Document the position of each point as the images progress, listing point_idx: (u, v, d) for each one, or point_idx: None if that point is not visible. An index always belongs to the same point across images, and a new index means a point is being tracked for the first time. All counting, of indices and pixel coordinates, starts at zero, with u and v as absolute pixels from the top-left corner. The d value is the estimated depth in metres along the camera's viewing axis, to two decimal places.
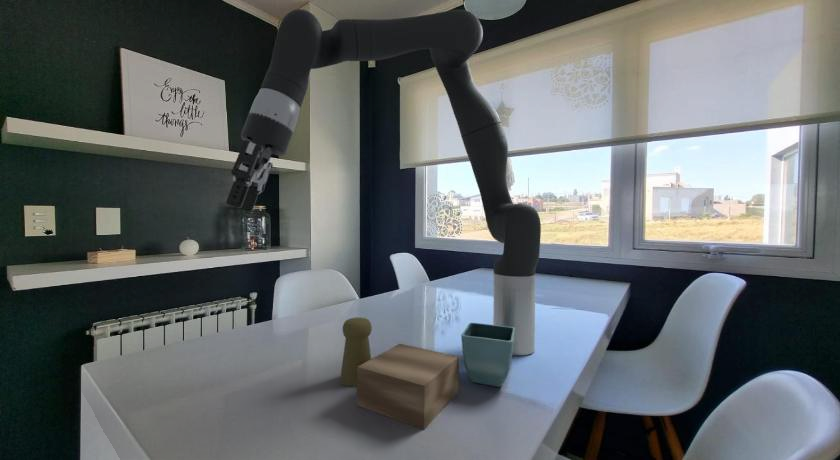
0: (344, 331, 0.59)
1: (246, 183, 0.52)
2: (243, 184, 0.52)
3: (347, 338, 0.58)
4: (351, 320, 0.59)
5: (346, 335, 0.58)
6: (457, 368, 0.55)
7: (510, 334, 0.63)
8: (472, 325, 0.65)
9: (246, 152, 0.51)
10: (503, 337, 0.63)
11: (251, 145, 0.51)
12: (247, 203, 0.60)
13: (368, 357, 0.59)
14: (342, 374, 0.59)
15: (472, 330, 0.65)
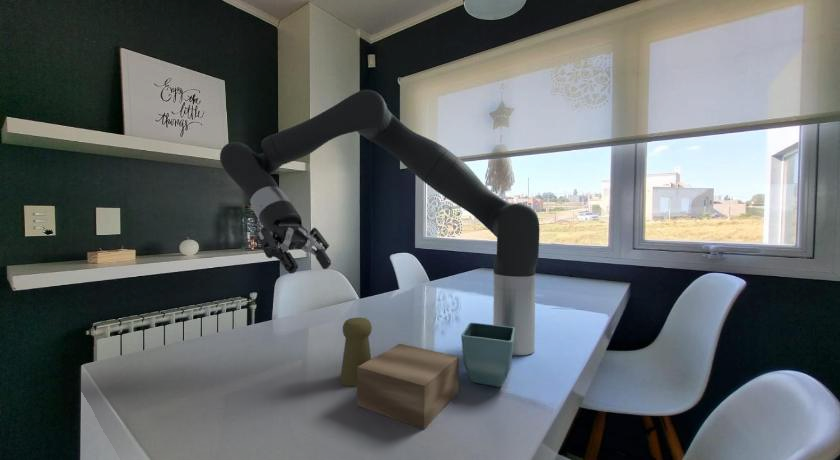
0: (344, 331, 0.59)
1: (282, 252, 0.62)
2: (281, 254, 0.62)
3: (347, 338, 0.58)
4: (351, 320, 0.59)
5: (346, 335, 0.58)
6: (457, 368, 0.55)
7: (510, 334, 0.63)
8: (472, 325, 0.65)
9: (262, 239, 0.63)
10: (503, 337, 0.63)
11: (259, 233, 0.63)
12: (323, 261, 0.70)
13: (368, 357, 0.59)
14: (342, 374, 0.59)
15: (472, 330, 0.65)
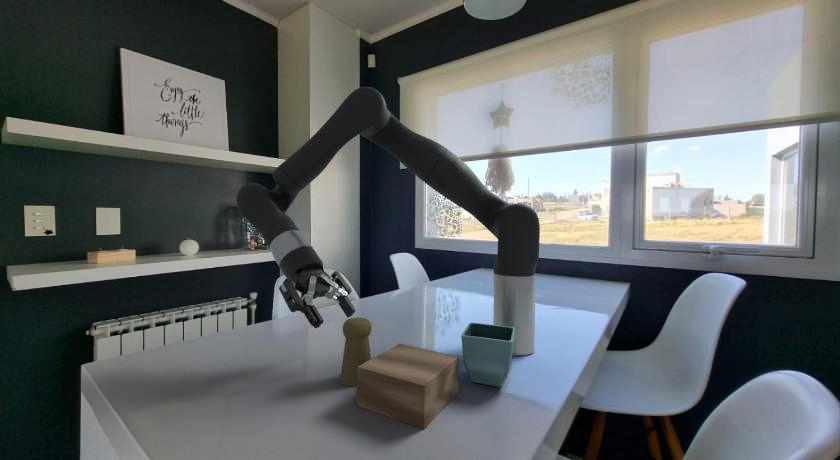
0: (344, 331, 0.59)
1: (306, 305, 0.59)
2: (306, 308, 0.59)
3: (347, 338, 0.58)
4: (351, 320, 0.59)
5: (346, 335, 0.58)
6: (457, 368, 0.55)
7: (510, 334, 0.63)
8: (472, 325, 0.65)
9: (285, 292, 0.60)
10: (503, 337, 0.63)
11: (282, 285, 0.60)
12: (347, 309, 0.67)
13: (368, 357, 0.59)
14: (342, 374, 0.59)
15: (472, 330, 0.65)
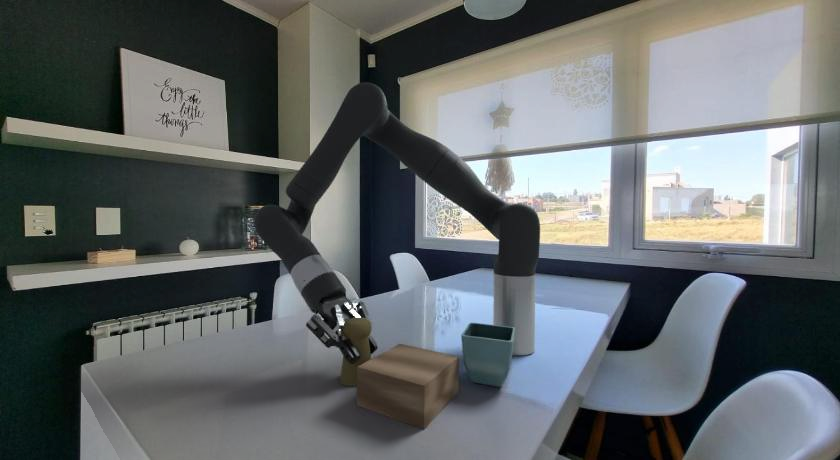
0: (344, 331, 0.59)
1: (342, 340, 0.57)
2: (341, 343, 0.57)
3: (347, 338, 0.58)
4: (351, 320, 0.59)
5: (346, 335, 0.58)
6: (457, 368, 0.55)
7: (510, 334, 0.63)
8: (472, 325, 0.65)
9: (315, 329, 0.57)
10: (503, 337, 0.63)
11: (310, 323, 0.57)
12: None
13: (368, 357, 0.59)
14: (342, 374, 0.59)
15: (472, 330, 0.65)
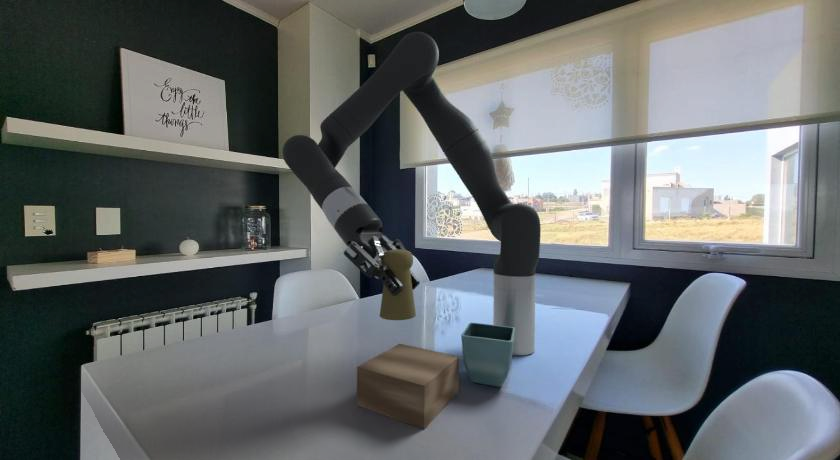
0: (384, 261, 0.53)
1: (383, 270, 0.52)
2: (383, 273, 0.52)
3: (388, 269, 0.53)
4: (391, 250, 0.54)
5: (387, 265, 0.53)
6: (457, 368, 0.55)
7: (510, 334, 0.63)
8: (472, 325, 0.65)
9: (354, 257, 0.52)
10: (503, 337, 0.63)
11: (349, 250, 0.52)
12: None
13: (410, 290, 0.54)
14: (383, 308, 0.53)
15: (472, 330, 0.65)
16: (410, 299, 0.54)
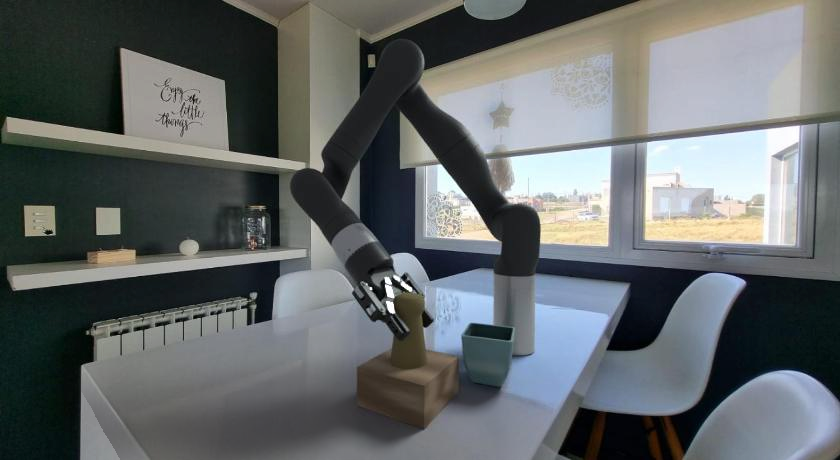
0: (395, 307, 0.52)
1: (389, 313, 0.49)
2: (389, 317, 0.49)
3: (399, 315, 0.52)
4: (403, 295, 0.53)
5: (398, 311, 0.51)
6: (457, 368, 0.55)
7: (510, 334, 0.63)
8: (472, 325, 0.65)
9: (361, 298, 0.50)
10: (503, 337, 0.63)
11: (357, 290, 0.50)
12: (423, 318, 0.56)
13: (422, 336, 0.52)
14: (393, 355, 0.52)
15: (472, 330, 0.65)
16: (422, 346, 0.52)
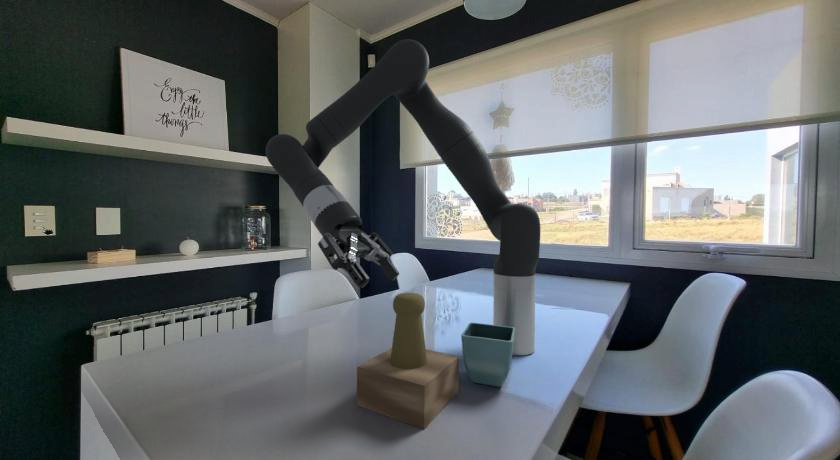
0: (395, 307, 0.52)
1: (350, 262, 0.53)
2: (349, 265, 0.52)
3: (399, 315, 0.52)
4: (403, 295, 0.53)
5: (398, 311, 0.51)
6: (457, 368, 0.55)
7: (510, 334, 0.63)
8: (472, 325, 0.65)
9: (325, 247, 0.53)
10: (503, 337, 0.63)
11: (322, 240, 0.54)
12: (389, 272, 0.60)
13: (422, 336, 0.52)
14: (393, 355, 0.52)
15: (472, 330, 0.65)
16: (422, 346, 0.52)
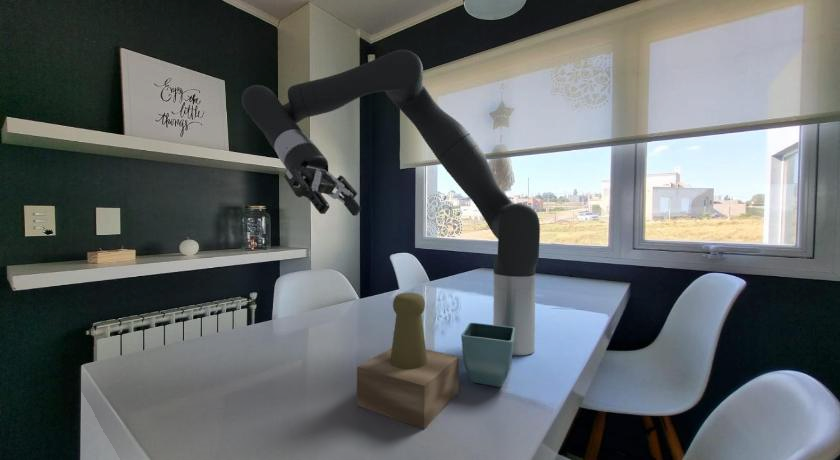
0: (395, 307, 0.52)
1: (312, 191, 0.58)
2: (311, 193, 0.58)
3: (399, 315, 0.52)
4: (403, 295, 0.53)
5: (398, 311, 0.51)
6: (457, 368, 0.55)
7: (510, 334, 0.63)
8: (472, 325, 0.65)
9: (290, 178, 0.59)
10: (503, 337, 0.63)
11: (287, 172, 0.59)
12: (352, 207, 0.66)
13: (422, 336, 0.52)
14: (393, 355, 0.52)
15: (472, 330, 0.65)
16: (422, 346, 0.52)
